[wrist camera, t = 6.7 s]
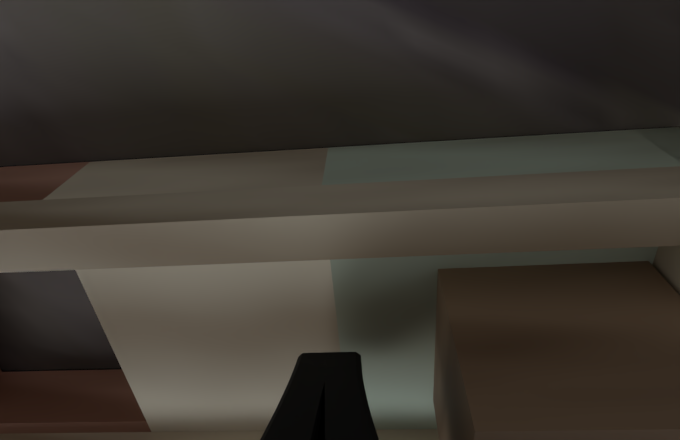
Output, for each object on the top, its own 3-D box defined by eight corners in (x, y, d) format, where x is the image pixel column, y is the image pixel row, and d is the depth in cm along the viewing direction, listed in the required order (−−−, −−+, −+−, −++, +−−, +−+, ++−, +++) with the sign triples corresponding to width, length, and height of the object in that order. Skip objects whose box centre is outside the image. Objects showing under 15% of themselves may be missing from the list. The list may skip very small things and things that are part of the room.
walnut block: (603, 397, 12) (697, 574, 9) (432, 400, 13) (459, 571, 9) (648, 260, 10) (798, 428, 6) (437, 269, 10) (474, 431, 7)
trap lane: (596, 390, 15) (655, 502, 12) (-216, 404, 17) (-337, 500, 14) (678, 126, 10) (806, 201, 7) (-443, 193, 13) (-692, 270, 10)
